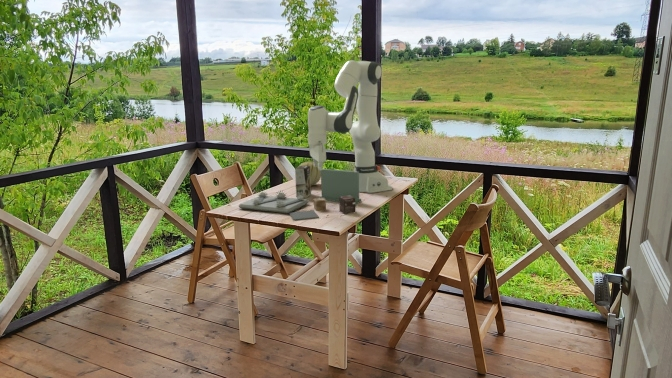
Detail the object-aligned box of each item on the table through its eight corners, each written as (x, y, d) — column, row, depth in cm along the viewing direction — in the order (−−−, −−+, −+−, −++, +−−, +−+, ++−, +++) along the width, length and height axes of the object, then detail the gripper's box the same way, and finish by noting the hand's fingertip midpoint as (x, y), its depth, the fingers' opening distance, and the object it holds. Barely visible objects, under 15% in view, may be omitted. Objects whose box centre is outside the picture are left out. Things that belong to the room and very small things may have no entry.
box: (344, 214, 230) (343, 199, 228) (339, 211, 235) (338, 196, 233) (355, 212, 232) (355, 197, 230) (350, 209, 237) (350, 195, 236)
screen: (319, 199, 258) (318, 170, 255) (325, 196, 263) (324, 168, 260) (356, 203, 248) (355, 173, 244) (361, 201, 253) (360, 170, 249)
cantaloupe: (293, 187, 288) (291, 162, 285) (303, 182, 302) (302, 158, 298) (315, 188, 283) (314, 163, 280) (325, 183, 296) (324, 159, 293)
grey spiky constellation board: (237, 209, 244) (236, 195, 242) (261, 199, 263) (260, 186, 261) (289, 214, 231) (288, 200, 230) (310, 203, 250) (309, 190, 249)
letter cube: (323, 207, 243) (323, 197, 242) (326, 210, 238) (325, 199, 237) (314, 208, 242) (313, 198, 240) (316, 211, 237) (315, 200, 236)
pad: (313, 211, 236) (313, 210, 236) (319, 217, 225) (318, 216, 225) (289, 213, 233) (289, 212, 233) (293, 220, 222) (293, 219, 222)
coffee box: (307, 197, 264) (306, 168, 260) (296, 197, 265) (294, 168, 261) (311, 193, 272) (310, 165, 269) (300, 193, 274) (299, 165, 270)
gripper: (329, 142, 223) (329, 171, 226) (319, 137, 242) (319, 164, 245) (315, 143, 221) (316, 172, 224) (306, 138, 241) (307, 165, 244)
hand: (318, 168), depth 235 cm, fingers open, 8 cm apart
